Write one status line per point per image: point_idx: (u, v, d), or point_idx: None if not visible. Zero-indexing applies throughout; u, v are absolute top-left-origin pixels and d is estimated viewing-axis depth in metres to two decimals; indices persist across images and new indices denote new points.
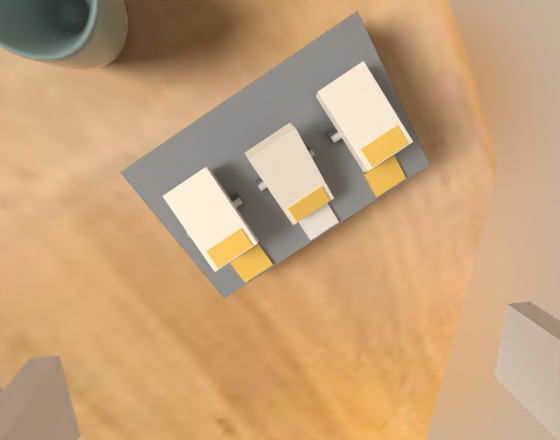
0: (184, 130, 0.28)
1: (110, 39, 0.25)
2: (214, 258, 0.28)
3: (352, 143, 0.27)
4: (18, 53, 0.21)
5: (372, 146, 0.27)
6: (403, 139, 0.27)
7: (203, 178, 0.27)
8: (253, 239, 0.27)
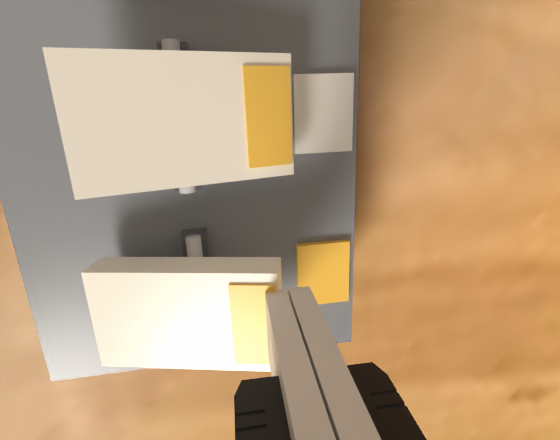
0: (19, 256, 0.14)
1: None
2: (258, 358, 0.13)
3: None
4: None
5: None
6: None
7: (100, 288, 0.13)
8: (264, 275, 0.12)
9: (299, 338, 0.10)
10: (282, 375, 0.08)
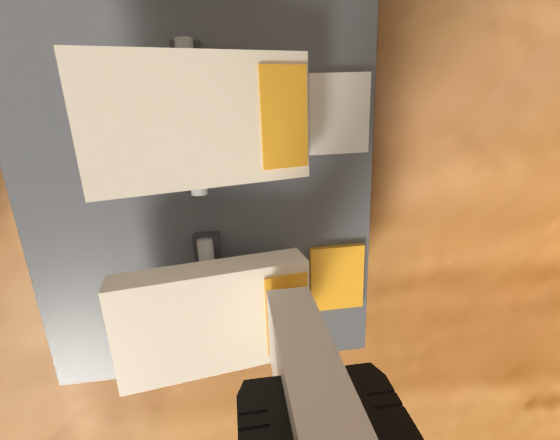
0: (28, 259, 0.14)
1: None
2: None
3: None
4: None
5: None
6: None
7: (121, 308, 0.12)
8: (297, 265, 0.13)
9: (297, 338, 0.10)
10: (284, 375, 0.08)
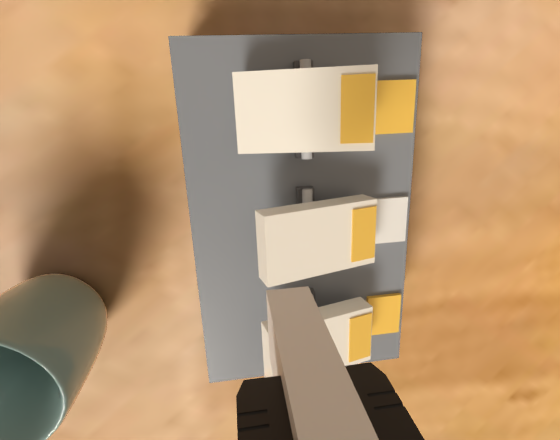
0: (202, 307, 0.23)
1: (76, 332, 0.22)
2: (359, 355, 0.23)
3: (326, 149, 0.18)
4: (46, 438, 0.20)
5: (346, 124, 0.18)
6: (365, 77, 0.17)
7: None
8: (366, 309, 0.23)
9: (297, 338, 0.10)
10: (284, 375, 0.08)
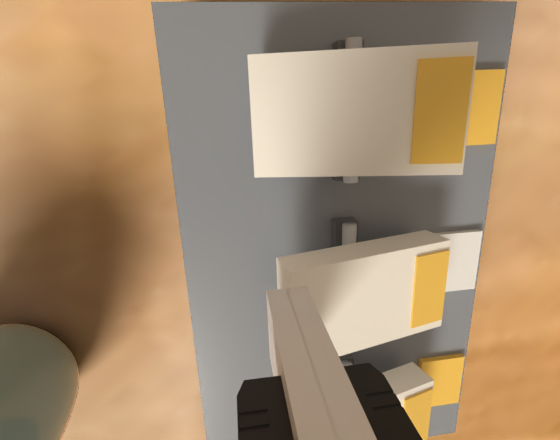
0: (201, 378, 0.17)
1: (26, 420, 0.16)
2: None
3: (388, 172, 0.12)
4: None
5: (421, 135, 0.12)
6: (457, 62, 0.11)
7: None
8: (426, 384, 0.16)
9: (296, 339, 0.10)
10: (284, 375, 0.08)
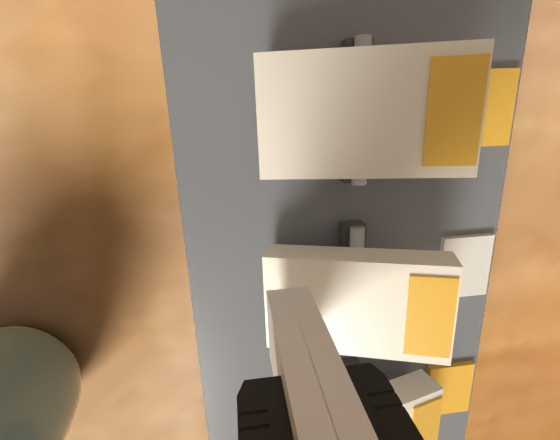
0: (204, 384, 0.17)
1: (26, 425, 0.15)
2: None
3: (398, 174, 0.12)
4: None
5: (434, 136, 0.11)
6: (472, 60, 0.10)
7: None
8: (436, 393, 0.16)
9: (297, 338, 0.10)
10: (284, 375, 0.08)
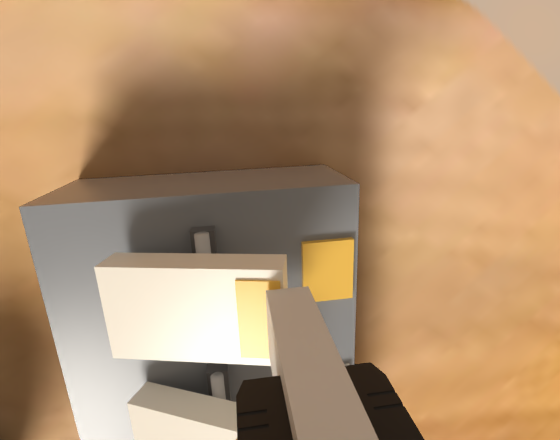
0: None
1: None
2: None
3: (224, 361, 0.14)
4: None
5: (247, 335, 0.13)
6: (267, 285, 0.13)
7: None
8: None
9: (297, 338, 0.10)
10: (284, 375, 0.08)
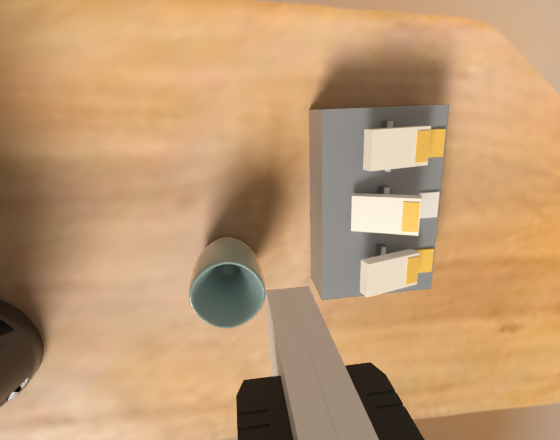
0: (323, 253, 0.41)
1: (258, 265, 0.40)
2: (411, 281, 0.42)
3: (409, 166, 0.37)
4: (251, 317, 0.38)
5: (417, 153, 0.37)
6: (426, 131, 0.36)
7: (372, 268, 0.39)
8: (416, 254, 0.41)
9: (297, 338, 0.10)
10: (284, 375, 0.08)
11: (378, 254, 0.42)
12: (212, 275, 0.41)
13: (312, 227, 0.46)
